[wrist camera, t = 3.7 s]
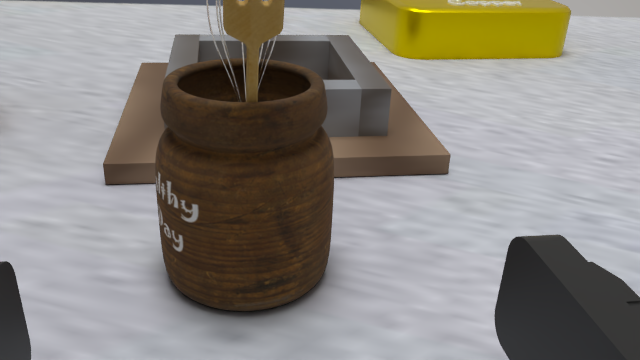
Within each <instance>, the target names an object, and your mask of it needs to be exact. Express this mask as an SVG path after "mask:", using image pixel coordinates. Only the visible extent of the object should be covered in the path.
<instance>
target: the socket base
mask: <svg viewBox="0 0 640 360" xmlns="http://www.w3.org/2000/svg"><path fill="white" fill-rule="evenodd" d="M213 36H214V39H215V42H216V45H217V47H218V50H219V52H220V55H221V57H222V59H227V57H226V54H225V51H224V47H223V44H222V40H221V36H220V35H213ZM224 38H225V42H226V46H227V50H228V53H229V57H230V58H243V56H242V42H241V41H239V40H237V39H235V38H233V37H231V36H230V35H224ZM274 38H275V37H273V38H271V39H270V42H269V46H268V50H267V54H266V58H265V59H268V57H269V55H270V52H271V49H272V45H273V42H274ZM222 39H223V35H222ZM223 43H224V40H223ZM267 45H268V41H266V42H264V43H263V48H262V53H261V58H260V59H264V56H265V53H266V49H267ZM224 46H225V44H224ZM261 46H262V45H261ZM261 46H260V48H259V57H260V52H261ZM225 49H226V48H225ZM243 51H244V58H247V47H246V45H245V44H244V43H243ZM226 53H227V51H226ZM227 56H228V55H227ZM217 59H221V58H220V56H219V54H218V51H217V49H216V46H215V43H214V41H213V38H212V35H175V38H174V42H173V46H172V50H171V55H170V59H169V63H142V64H141V66H140V69H139V72H138V74H137V77H136V79H135V82H134V85H133V87H132V90H131V92H130V95H129V98H128V100H127V103H126V106H125V108H124V111H123V113H122V116H121V119H120V121H119V124H118V127H117V129H116V132H115V134H114V137H113V140H112V142H111V145H110V147H109V150H108V153H107V155H106V158H105V161H104V163H103V167H104V175H105V182H106V184H135V183H156V177H155V158H156V150H157V146H158V142H159V140H160V137H161V135H162V133H163V132H164V130H165V129H166V128H167V127H168V126H167V125H166V124H165V122H164V121H163V118H162V116H161V111H160V103H161V93H162V85H163V81H164V79H165V78H166V76H167V75H168V74H170V73H171V72H173V71H174V70H176V69H178V68H181V67H183V66H186V65H190V64H193V63H198V62H203V61H209V60H217ZM228 59H229V58H228ZM269 60H276V61H282V62H288V63H292V64H296V65H299V66H302V67H305V68H308V69H310V70H312V71H314V72H315V73H317V74H318V75H319V76H320V77H321V78H322V79H323V81H324V84H325V90H326V97H327V105H328V110H327V116H326V119H325V121H324V123H323V124H322V125H321V126H322V127H323V128H324V130H325V131H326V133H327V135H328V137H329V139H330V142H331V145H332V149H333V156H334V177H353V176H385V175H416V174H447V173H448V169H449V162H450V153H449V152H448V151H447V150H446V149H445V147H444V146H443V145H442V144H441V143H440V141H439V140H438V139H437V138H436V137H435V135H434V134H433V133H432V132H431V131H430V129H429V128H428V127H427V126H426V124H425V123H424V122H423V121H422V120H421V118H420V117H419V116H418V115H417V114H416V112H415V111H414V110H413V109H412V108H411V106H410V105H409V104H408V103H407V101H406V100H405V99H404V98H403V97H402V95H401V94H400V93H399V92H398V91H397V89H396V88H395V87H394V86H393V85H392V83H391V82H390V81H389V80H388V79H387V77H386V76H385V75H384V74H383V72H382V71H381V70H380V69H379V68H378V66H377V65H376V64H375V63H374V62H370V61H369V60H368V59H367V58H366V56H365V55H364V54H363V53H362V51H361V50H360V49H359V48H358V46H357V45H356V44H355V43H354V42H353V40H352V39H351V38H350V37H349V35H277V36H276V40H275V44H274V47H273V50H272V53H271V56H270V59H269Z"/></svg>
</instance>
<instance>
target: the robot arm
mask: <svg viewBox="0 0 640 360" xmlns="http://www.w3.org/2000/svg"><path fill="white" fill-rule="evenodd" d="M495 327H496V332H497V336H498V339H499V342H500V344H501V346H502V348H503V350H504V351H505V353H506V355H507V356H508V358H509V360H640V297H639V296H638V295H637V294H636V293H635V292H634V291H633V290H632V289H631V288H630V287H629V286H628V285H627V284H626V283H625V282H624V281H623V280H622V279H620V278H618V277H617V276H615V275H613V274H612V273H610V272H608V271H607V270H605V269H603V268H602V267H600V266H598V265H597V264H595V263H593V262H588V261H587V260H586V259H585V258H584V257H583V256H582V255H581V254H580V253H579V252H578V251H577V250H576V249H575V248H574V247H573V246H572V245H571V244H570V243H569V242H568V241H567V239H565V238H564V237H563V236H561V235H542V236H522V237H515V238H514V239H513V240H512V241H511V243H510V245H509V248H508V252H507V256H506V261H505V266H504V270H503V275H502V280H501V285H500V289H499V294H498V299H497V303H496V308H495ZM0 360H31V345H30V339H29V334H28V330H27V325H26V321H25V316H24V312H23V307H22V303H21V298H20V294H19V289H18V285H17V280H16V276H15V272H14V269H13V267H12V265H11V264H10V263H9V262H0Z"/></svg>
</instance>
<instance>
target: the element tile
mask: <svg viewBox="0 0 640 360" xmlns="http://www.w3.org/2000/svg"><path fill="white" fill-rule="evenodd" d="M570 15H571V10H570V9H569V8H568V7H567V6H565V5H562V4H560V3H557V2H555V1H552V0H361V11H360V24H361V25H362V26H363V27H364V28H365V29H366V30H368V31H369V32H370V33H371V34H372V35H373V36H374V37H375V38H376V39H377V40H378V41H380V42H381V43H382V44H383V45H384V46H385V47H386V48H387V49H388V50H389V51H390V52H392V53H393V54H395V55H397V56H400V57H404V58H410V59H425V60H430V59H517V58H555V57H560V56H561V55H562V51H563V47H564V42H565V38H566V33H567V29H568V24H569V20H570Z"/></svg>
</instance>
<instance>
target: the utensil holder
mask: <svg viewBox="0 0 640 360" xmlns="http://www.w3.org/2000/svg"><path fill="white" fill-rule="evenodd" d="M206 1H207V2H206V3H207V15H208V22H209V27H210V31H211V34H212V38H213V41H214V43H215V46H216V49H217V51H218V54H219V56H220V58H221V59H217V60H209V61H203V62H198V63H193V64H190V65H186V66H183V67H181V68H178V69H176V70H174V71H173V72H171V73H170V74H168V75H167V76H166V78H165V79H164V81H163V85H162V93H161V103H160V111H161V116H162V118H163V121H164V122H165V124H166V125H167V126H168V127H167V128H166V129H165V130H164V132H163V133H162V135H161V137H160V140H159V142H158V146H157V150H156V158H155V177H156V192H157V204H158V215H159V225H160V235H161V244H162V251H163V258H164V262H165V266H166V270H167V272H168V275H169V277H170V279H171V280H172V282H173V283H174V285H175V286H176V287H177V288H178V289H179V290H180V291H181V292H182V293H183V294H185V295H186V296H188V297H189V298H191V299H193V300H194V301H197V302H199V303H201V304H204V305H207V306H210V307H214V308H218V309H223V310H231V311H255V310H263V309H269V308H273V307H277V306H280V305H284V304H286V303H289V302H291V301H293V300H295V299H297V298H299V297H301V296H303V295H304V294H305V293H307V292H308V291H309V290H311V289H312V288H313V287H314V286H315V285H316V284H317V282H318V281H319V280H320V278H321V277H322V275H323V273H324V271H325V268H326V265H327V261H328V256H329V250H330V241H331V228H332V211H333V192H334V156H333V149H332V145H331V142H330V139H329V137H328V135H327V133H326V131H325V130H324V128H323V127H322V126H321V125H322V124H323V123H324V121H325V119H326V116H327V110H328V105H327V97H326V90H325V84H324V81H323V79H322V78H321V77H320V76H319V75H318V74H317V73H315V72H314V71H312V70H310V69H308V68H305V67H302V66H299V65H296V64H292V63H288V62H282V61H276V60H269V59H270V56H271V53H272V50H273V47H274V44H275V40H276V36H277V35H278V34H280V33H281V31H282V29H283V19H284V0H269V1H266V0H265V1H262V0H245V1H241V0H240V1H238V0H223V26H224V30H225V31H226V33H227V34H228V35H230V36H231V37H233V38H235V39H237V40H239V41H241V42H242V56H243V58H230V57H229V53H228V50H227V46H226V42H225V38H224V33H223V27H222V20H221V9H220V0H219V15H220V24H221V30H222V35H223V39H222V35H221V30H220V25H219V19H218V7H217V0H216V12H217V21H218V27H219V32H220V36H221V40H222V44H223V47H224V51H225V54H226V57H227V59H222V57H221V55H220V52H219V50H218V47H217V45H216V42H215V39H214V36H213V33H212V29H211V25H210V19H209V11H208V0H206ZM273 37H275V38H274V42H273V45H272V49H271V52H270V55H269V57H268V59H265V58H266V54H267V50H268V46H269V42H270V39H271V38H273ZM223 40H224V43H223ZM266 41H268V45H267V49H266V53H265V56H264V59H260V58H261V53H262V48H263V43H264V42H266ZM243 43H244V44H245V45H246V47H247V58H244V51H243ZM224 44H225V46H224ZM261 45H262V46H261ZM260 46H261V52H260V57H259V48H260ZM225 48H226V49H225ZM226 51H227V53H226ZM227 55H228V56H227ZM228 58H229V59H228Z"/></svg>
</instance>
